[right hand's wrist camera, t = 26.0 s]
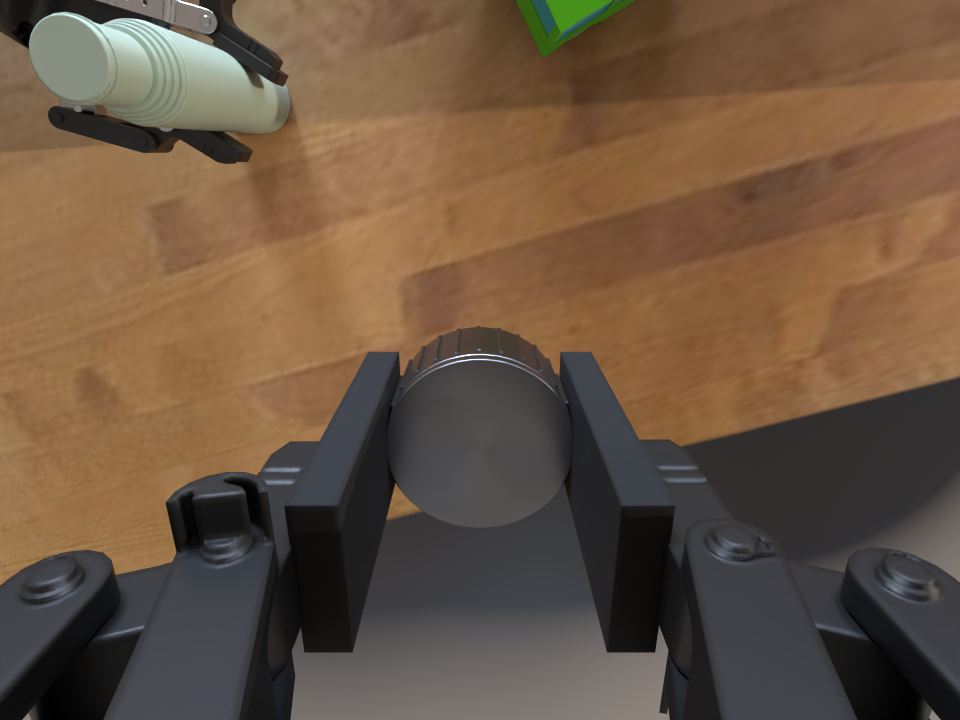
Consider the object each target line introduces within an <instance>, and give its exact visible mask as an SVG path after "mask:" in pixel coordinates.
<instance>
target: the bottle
mask: <svg viewBox="0 0 960 720" xmlns="http://www.w3.org/2000/svg"><path fill="white" fill-rule="evenodd" d="M29 53H30V58H31V62H32V65H33V67H34V70H35V72H36V74H37V75H38V77H39V78H40V80H41V82H42V83H43V84H44V85H45V86H46V87H47V88H48V89H49V91H50V92H52V93H53V94H54V95H56V96H57V97H59V98H60V99H62V100H64V101H67V102H69V103H72V104H78V105H86V106H88V105H97V104H99V105H103V106H105V107H106V108H107V109H108V110H110V111H111V112H112V113H113V114H115V115H116V116H118V117H120V118H121V119H123V120H125V121H128V122H131V123H134V124H136V125H140V126H147V127H161V128H176V129H191V130H206V131H221V132H236V133H251V134H269V133H272V132H274V131H276V130H278V129H279V128H280V127H282V126H283V124H284V123H285V122H286V120H287V118H288V115H289V112H290V96H289V92H288V89H287V87H286V85H284V87H283V86H279V85H276V84H274V83H272V82H270V81H269V80H267V79H266V78H264V77H262V76H261V75H259V74H258V73H256V72H255V71H253V70H252V69H250V68H249V67H247V66H246V65H244V64H242V63H241V62H239V61H238V60H236V59H235V58H233V57H232V56H231V55H229V54H228V53H226V52H224V51H223V50H220V49H217V48H215V47H212V46H209V45H207V44H204V43H202V42H199V41H196V40H194V39H191V38H188V37H186V36H183V35H181V34H178V33H175V32H173V31H170V30H167V29H165V28H162V27H160V26H157V25H154V24H152V23H149V22H146V21H143V20H139V19H128V18H121V19H115V20H112V21H109V22H107V23H104V24H102V25H100V24H97V23H94V22H92V21H91V20H89V19H87V18H85V17H83V16H81V15H78V14H74V13H68V12H60V13H53V14H51V15H49V16H47V17H45V18H43V19H42V20H41V21H39V22H38V23H37V25H36V26H35V27H34V29H33V31H32V33H31V36H30V41H29Z"/></svg>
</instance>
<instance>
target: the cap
mask: <svg viewBox="0 0 960 720" xmlns="http://www.w3.org/2000/svg"><path fill="white" fill-rule="evenodd" d="M568 405H569V403H568V401H567V398H566V395H565V392H564V389H563V386H562V384H561V381H560V378H559V375H558V374H556V375H555V372H554V370H553V368H552V365H551V362H550V360H549V358H547V359H546V358H545V357H544V355H543V354H542V353H541V352H540V351H539V350H538V349H537V346H536V345H535V344H534V345H532V344H530V343H529V342H528V341H526V340H524V339H523V338H521V337H520V335H518V334H517V335H515V334H512V333H510V332H507V331H503V330H501V328H497V329H495V328H487V327H480V326H477V327H473V328H465V329H460V328H458V329H457V330H456V331H452V332H450V333H447V334H445V335H442V336H441V335H439V336H438V337H437V339H435V340H433V341H432V342H430V343H429V344H428V345H426V346H424V345H423V346H422V347H421V350H420V352H419V353H418V354H417V355H416V356H415V357H414V358H413V360H411V359H410V360H409V362H408V365H407V368H406V371H405V373H404V375H403V376H400V379H399V382H398V384H397V387H396V390H395V393H394V396H393V399H392V402H391V405H390V407H391V408H392V410H391V413H390V416H389V419H388V423H387V427H386V435H387V451H388V466H389V469H390V472H391V475H392V477H393V478H394V480H395V482H396V484H397V486H398V487H399V488H400V490H401V491H402V492H403V494H404V495H405V496H406V497H407V498H408V499H409V500H410V501H411V502H412V503H413V504H414V505H416V506H417V507H418V508H419V509H421V510H422V511H424V512H425V513H427V514H429V515H430V516H432V517H435V518H437V519H439V520H441V521H444V522H447V523H450V524H454V525H458V526H463V527H472V528H487V527H496V526H501V525H506V524H510V523H512V522H515V521H518V520H521V519H523V518H525V517H527V516H529V515H531V514H532V513H534V512H536V511H537V510H539V509H540V508H541V507H543V506H544V505H545V504H546V503H548V502H549V501H550V500H551V499H552V497H553V496H554V495H555V494H556V493H557V492H558V490H559V489H560V488H561V486H562V485H563V483H564V481H565V479H566V478H567V476H568V474H569V471H570V468H571V460H572V444H573V424H572V420H571V417H570V414H569V411H568V409H567V406H568Z"/></svg>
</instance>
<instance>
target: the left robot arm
mask: <svg viewBox="0 0 960 720" xmlns="http://www.w3.org/2000/svg"><path fill="white" fill-rule="evenodd" d="M235 2H236V0H200V3H199V6H195V5H192V4H189V3H185V2H182V1H179V0H0V32H2V33H3V34H5V35H7V36H8V37H10V38H12V39H13V40H15V41H16V42H18V43H20V44H21V45H23V46H25V47H26V48H28V49H29V41H30V36H31V33H32V31H33V29H34V27H35V26H36V25H37V23H38V22H39V21H41V20H42V19H43V18H45V17H47V16H49V15H51V14H53V13H60V12H68V13H74V14H78V15H81V16H83V17H85V18H87V19H89V20H91V21H92V22H94V23H97V24H100V25H102V24H104V23H107V22H109V21H112V20H115V19H121V18H128V19H139V20H143V21H146V22H149V23H152V24H154V25H157V26H160V27H162V28H165V29H167V30H170V27H171V26H173V27H176V28H179V29H183V30H186V31H190V32H193V33H198V34H201V35H205V36H208V37H210V38H211V39H213V40H214V42H213V45H215V46H216V47H218V48H219V49H221V50H223V51H224V52H226V53H228V54H229V55H231V56H232V57H233V58H235V59H236V60H238V61H239V62H241V63H242V64H244V65H246V66H247V67H249V68H250V69H252V70H253V71H255V72H256V73H258V74H259V75H261V76H262V77H264V78H266V79H267V80H269V81H270V82H272V83H274V84H276V85H279V86H283V87H284V85H285V83H286V80H287V78H288V75H287V74H285V73H284V72H282V71H281V70H280V68H281V66H282V63H283V61H282V60H281V59H280V57H279V56H278V55H277V54H276V53H275V52H273V51H272V50H270V49H269V48H267V47H266V46H264V45H263V44H261V43H260V42H258V41H257V40H255V39H254V38H252V37H251V36H249V35H248V34H246V33H245V32H243V31H242V30H240V29H239V28H238V27H237V26H236V25H235V23H234V21H233V18H232V5H233V4H234V3H235ZM106 114H107V110H106V108H105V107H104V106H103V105H99V104H97V105H88V106H86V105H78V104H72V103H69V102H67V101H64V100H62V99H60V107H59V106H54V107H52V108H51V109H50V110H49V112H48V118H49V120H50V122H51V124H52V125H53V126H55V127H56V128H59V129H62V130H66V131H69V132H73V133H76V134H80V135H83V136H87V137H90V138H94V139H97V140H101V141H104V142H107V143H111V144H114V145H118V146H121V147H125V148H128V149H132V150H135V151H139V152H142V153H167V152H170V151H171V150H172V149H173V147H174V144H175V143H176V142H177V141H178V140H179V139H181V140H182V141H184V142H186V143H187V144H189V145H190V146H192V147H194V148H195V149H197V150H199V151H200V152H202V153H203V154H205V155H207V156H209V157H210V158H212V159H213V160H215V161H217V162H219V163H225V164H233V163H236V162H248V161H249V159H250V156H251V154H252V152H253V151H252V150H251V149H250V148H248V147H247V146H245V145H244V144H242V143H240V142H239V141H237V140H236V139H234V138H232V137H231V136H229V135H228V134H226V133H224V132H221V131H206V130H191V129H176V128H161V127H145V126H140V125H136V124H134V123H131V122H128V121H124V120H121V119H117V118H114V117H111V116H107V115H106Z"/></svg>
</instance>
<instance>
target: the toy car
mask: <svg viewBox="0 0 960 720" xmlns="http://www.w3.org/2000/svg"><path fill="white" fill-rule="evenodd" d="M515 1H516V3H517V5H518V7H519V9H520V11H521V13H522V16H523V18H524V20H525V22H526V24H527V26H528V28H529V30H530V32H531V35H532V37H533V39H534V41H535V43H536V45H537V47H538V49H539V51H540V54H541V56H542V58H545V57H546V56H548V55H549V54H551V53H553V52H554V51H556V49H558V48H559V47H560V46H561V45H563V44H564V43H565V42H567V41H569V40H571V39H573V38H575V37H576V36H578V35H579V34H581V33H582V32H584V31H585V30H586V29H587V28H589V27H590V26H592V25H594V24H596V23H598V22H599V23H601V22H602V21H604V20H606V19H607V18H609V17H610V16H612V15H614V14H615V13H617V12H618V11H620V10H622V9H623V8H625V7H626V6H628V5H630V4H631V3H633V2H634V1H636V0H515Z"/></svg>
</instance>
